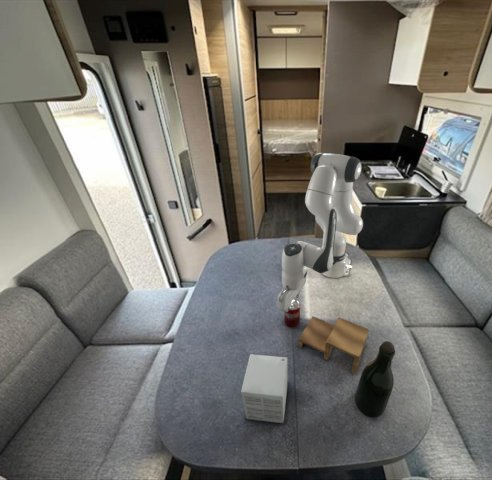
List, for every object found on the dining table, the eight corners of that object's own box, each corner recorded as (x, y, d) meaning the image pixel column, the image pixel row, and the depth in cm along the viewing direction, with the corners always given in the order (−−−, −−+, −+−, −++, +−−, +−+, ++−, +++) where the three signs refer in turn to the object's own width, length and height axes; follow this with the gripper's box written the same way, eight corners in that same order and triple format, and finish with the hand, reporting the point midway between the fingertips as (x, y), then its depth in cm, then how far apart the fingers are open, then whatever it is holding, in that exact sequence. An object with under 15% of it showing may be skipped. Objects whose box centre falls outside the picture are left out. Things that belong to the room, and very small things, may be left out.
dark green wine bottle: (357, 383, 99) (372, 326, 81) (386, 394, 95) (408, 337, 77) (351, 411, 91) (367, 354, 73) (383, 424, 87) (407, 368, 69)
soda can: (298, 329, 119) (298, 311, 113) (282, 327, 121) (282, 308, 114) (300, 317, 125) (301, 299, 119) (286, 314, 127) (285, 297, 120)
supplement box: (253, 380, 100) (249, 353, 90) (288, 384, 99) (287, 356, 89) (245, 419, 89) (240, 392, 79) (283, 423, 88) (283, 397, 78)
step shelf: (312, 323, 122) (313, 306, 116) (364, 345, 112) (369, 329, 106) (298, 346, 112) (299, 329, 106) (355, 373, 102) (359, 356, 96)
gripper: (286, 298, 99) (286, 322, 107) (309, 268, 115) (308, 291, 122) (272, 292, 102) (273, 316, 109) (296, 264, 117) (296, 287, 125)
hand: (291, 303), depth 116 cm, fingers open, 8 cm apart
